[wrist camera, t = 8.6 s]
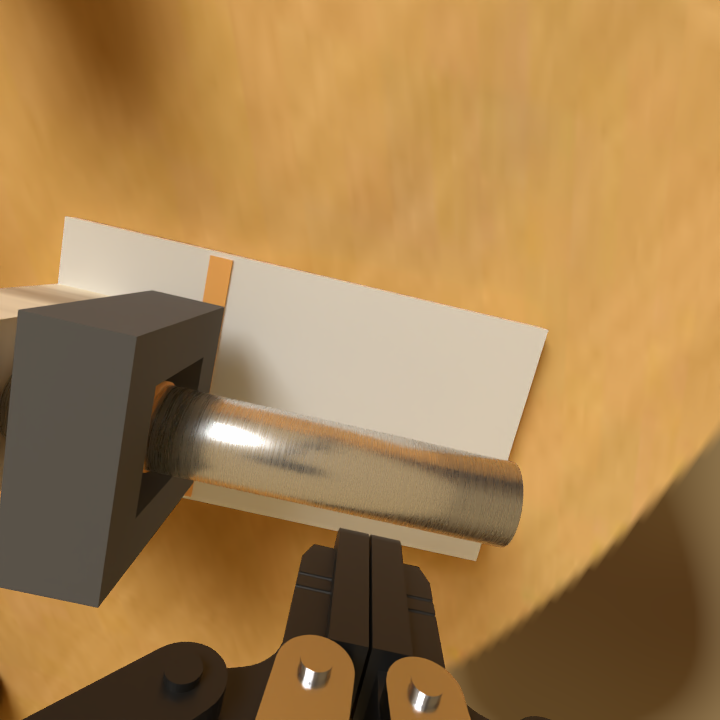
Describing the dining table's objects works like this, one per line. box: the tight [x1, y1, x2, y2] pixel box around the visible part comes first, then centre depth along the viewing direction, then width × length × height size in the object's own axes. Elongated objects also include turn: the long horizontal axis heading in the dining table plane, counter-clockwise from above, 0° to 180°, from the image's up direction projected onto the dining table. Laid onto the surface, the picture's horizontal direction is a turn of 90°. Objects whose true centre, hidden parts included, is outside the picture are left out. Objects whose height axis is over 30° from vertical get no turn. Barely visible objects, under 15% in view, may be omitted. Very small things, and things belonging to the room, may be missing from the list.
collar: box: [0, 290, 225, 608], centre depth 17 cm, size 8×3×8 cm, turn 167°
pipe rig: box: [0, 216, 548, 561], centre depth 19 cm, size 12×22×10 cm, turn 77°
